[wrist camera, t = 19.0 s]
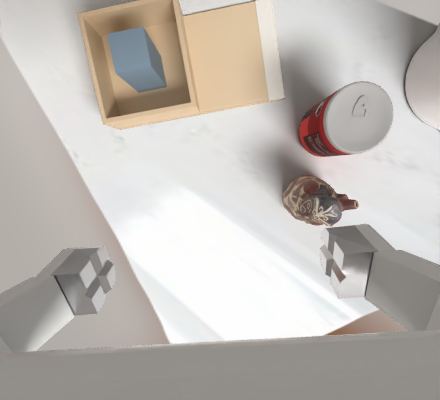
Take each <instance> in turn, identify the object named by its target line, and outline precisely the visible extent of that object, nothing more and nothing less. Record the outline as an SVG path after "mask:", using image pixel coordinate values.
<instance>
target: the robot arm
mask: <svg viewBox="0 0 440 400" xmlns="http://www.w3.org/2000/svg"><path fill="white" fill-rule="evenodd" d="M405 90H406V96H407V100H408V103H409V105H410V107H411V109H412V111H413V112H414V113H415V115H416V116H417V117H418V118H419V119H420V120H422V121H423V122H424V123H426V124H428V125H430V126H432V127H434V128H436V129H438V130H439V131H440V24H439V25H438V27H437V29H436V31H435V33H434V34H433V35H432V36H431V37H430V38H429V39H428V40H427V41H426V42H425V43H424V44H423V45H422V46H421V47H420V48H419V49H418V50H417V52H416V53H415V55H414V56H413V58H412V60H411V62H410V64H409V67H408V70H407V74H406V81H405ZM321 239H322V241H323V243H324V245H323V246H322V247H321V248H320V260H321V265H322V268H323V270H324V272H325V274H326V275H328V276H329V277H331V282H330V284H331V286H332V287H333V289H334V291H335V293H336V295H337V297H338V298H360V297H365V299H366V300H368V301H369V302H370V303H372V304H373V305H375V306H376V307H377V308H379V309H380V310H381V311H383V312H384V313H385V314H387V315H388V316H390V317H391V318H392V319H394V320H395V321H396V322H398V323H399V324H400V325H402V326H403V327H405V328H406V329H407V330H409V331H405V332H385V333H368V334H350V335H334V336H333V335H332V336H312V337H293V338H274V339H254V340H235V341H216V342H198V343H179V344H161V345H142V346H124V347H108V348H107V347H106V348H87V349H68V350H50V351H36V350H37V349H38V348H39V347H40V346H42V345H43V344H44V343H45V342H46V341H47V340H48V339H50V338H51V337H52V336H53V335H54V334H55V333H56V332H57V331H59V330H60V329H61V328H62V327H63V326H64V325H66V324H67V323H68V322H69V321H70V320H71V319H72V318H74V316H75V315H85V314H97V313H98V312H99V310H100V308H101V306H102V305H103V303H104V301H105V300H106V296H105V293H107V292H108V291H109V290H111V289H112V287H113V285H114V283H115V278H116V271H115V267H114V265H113V264H112V263H111V262H110V261H109V260H108V259H109V256H110V254H109V251H108V249H107V248H106V247H104V246H97V247H80V248H68V249H64V250H62V251H61V252H60V253H59V254H58V255H57V256H56V257H55V258H54V259H53V260H52V261H51V262H50V263H49V264H48V265H47V266H46V267H45V268H44V269H43V270H42V271H41V272H40V273H39V274H38V275H37V276H36V277H32V278H30V279H27V280H26V281H24V282H22V283H20V284H18V285H16V286H14V287H12V288H10V289H8V290H6V291H5V292H3V293H1V294H0V400H440V265H438V264H436V263H433V262H431V261H428V260H425V259H423V258H420V257H418V256H415V255H413V254H410V253H407V252H405V251H402V250H395V249H394V248H393V247H392V246H391V245H390V244H389V243H388V242H387V241H386V240H385V239H384V238H383V237H382V236H381V235H379V234H378V233H377V232H376V231H375V230H374V229H373V228H372V227H371V226H370V225H368V224H360V225H352V226H344V227H334V228H324V229H323V230H322V233H321Z"/></svg>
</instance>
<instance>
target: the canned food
mask: <svg viewBox="0 0 440 400" xmlns="http://www.w3.org/2000/svg"><path fill="white" fill-rule="evenodd" d="M392 120H393V107H392V102H391V100H390V98H389V96H388V94H387V93H386V92H385V91H384V90H383V89H382V88H381V87H380V86H378V85H376V84H374V83H371V82H365V81H360V82H354V83H351V84H349V85H346V86H344V87H343V88H341V89H339V90H338V91H336V92H335V93H333V94H332V95H330V96H329V97H327V98H326V99H325V100H323V101H322V102H320V103H319V104H317V105H316V106H314V107H313V108H312V109H310V110H309V111H308V112H307V113H306V115H305V116H304V117H303V119H302V121H301V125H300V130H299V134H300V140H301V143H302V145H303V146H304V148H305V149H306V150H307V151H308V152H309V153H311V154H313V155H315V156H320V157H326V156H338V155H350V154H358V153H363V152H366V151H369V150H371V149H373V148H374V147H376V146H377V145H378V144H380V143H381V142H382V141H383V139H384V138H385V137H386V136H387V134H388V132H389V130H390V128H391V125H392Z"/></svg>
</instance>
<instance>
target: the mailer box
mask: <svg viewBox="0 0 440 400" xmlns="http://www.w3.org/2000/svg"><path fill="white" fill-rule="evenodd" d="M77 14H78V18H79V23H80V27H81V31H82V35H83V40H84V44H85V48H86V53H87V57H88V61H89V66H90V70H91V74H92V79H93V83H94V87H95V92H96V96H97V100H98V105H99V109H100V113H101V118H102V122H103V124H105V125H108V126H111V127H114V128H117V129H120V130H121V129H126V128H132V127H137V126H142V125H148V124H153V123H158V122H164V121H169V120H174V119H180V118H185V117H190V116H196V115H201V114H206V113H211V112H217V111H222V110H227V109H233V108H238V107H243V106H249V105H254V104H259V103H265V102H270V101H275V100H281V99H284V98H285V96H284V88H283V81H282V73H281V66H280V58H279V51H278V43H277V36H276V28H275V21H274V13H273V5H272V0H256V1H254V2H249V3H244V4H239V5H234V6H230V7H225V8H220V9H215V10H211V11H206V12H201V13H196V14H192V15H187V16H183V15H182V11H181V8H180V5H179V1H178V0H137V1H133V2H128V3H123V4H119V5H114V6H110V7H105V8H100V9H96V10H91V11H86V12H82V13H77ZM138 27H144V29H145V30H146V32H147V34H148V35H149V37H150V39H151V40H152V42H153V44H154V45H155V47H156V49H157V50H158V52H159V54H160V55H161V58H162V64H163V69H164V74H165V79H166V84H167V87H165V88H160V89H155V90H150V91H145V92H140V93H139V92H137V91H136V90H135V89H134V88H133V87H131V86H130V85H129V84H128V83H127V82H125V81H124V80H123V79H122V78H121V77H119V76H118V75H117V74H116V73H115V69H114V65H113V60H112V55H111V51H110V46H109V42H108V37H107V34H110V33H114V32H119V31H124V30H128V29H133V28H138Z"/></svg>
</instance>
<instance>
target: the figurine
mask: <svg viewBox="0 0 440 400" xmlns="http://www.w3.org/2000/svg"><path fill="white" fill-rule="evenodd" d="M283 204H284V207H285V208H286V209H287V210H288V212H289V213H291V215H292V216H293V217H294V218H295V219H298V220H301V221H305V222H306V223H307V224H308V223H309V224H312V225H322V224H325V225H327V226H332V225H334V224H335V223H337V222H338V221H339V220H340V218H341V215H342V213H341V212H343V211H344V210H350V209H357V208H358V207H359V204H358V202H357V201H356V200H350V199H348V197H347V195H345V194H337V193H336V192H335V191H334V189H333V188H332V187H331V186H330V185H329V184H327V183H326V182H325V181H323V180H321V179H319V178H316V177H312V176H302V177H298V178H296V179H294V180H293V181H292V182H291V183H290V184H289V186H288V188H287V190H286V191H284V193H283Z"/></svg>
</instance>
